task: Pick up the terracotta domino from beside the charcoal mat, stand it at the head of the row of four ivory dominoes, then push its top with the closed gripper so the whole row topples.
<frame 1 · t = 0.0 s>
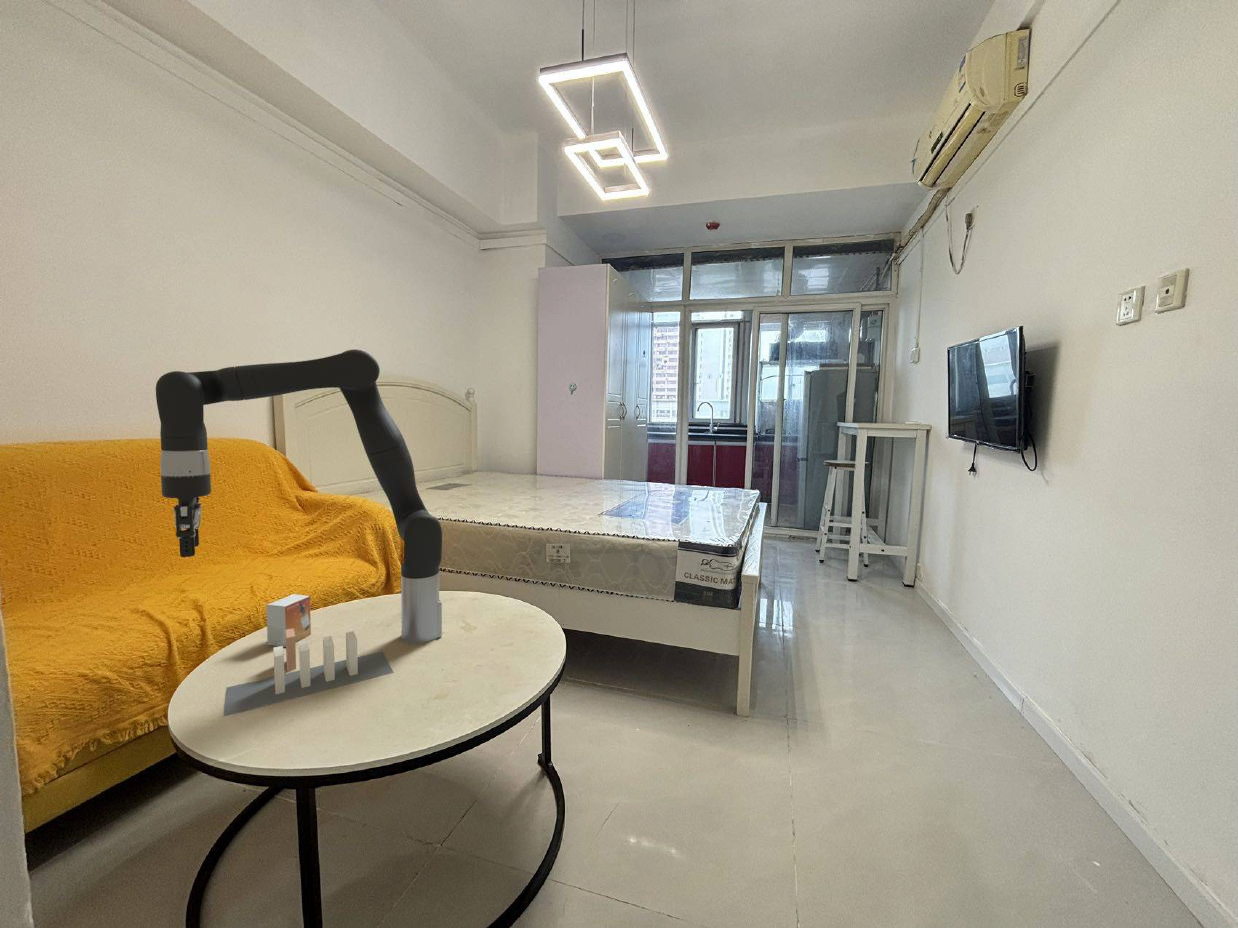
hand: (190, 551, 101), 29 cm above the table, tool pointing down, fingers open, 8 cm apart
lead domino: (291, 666, 113), on the table
domino 4: (329, 675, 109), resting on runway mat
domino 3: (305, 681, 107), resting on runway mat
domino 2: (279, 687, 104), resting on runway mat
small box: (290, 640, 127), on the table
domino 5: (352, 670, 112), resting on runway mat
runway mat: (313, 681, 107), on the table
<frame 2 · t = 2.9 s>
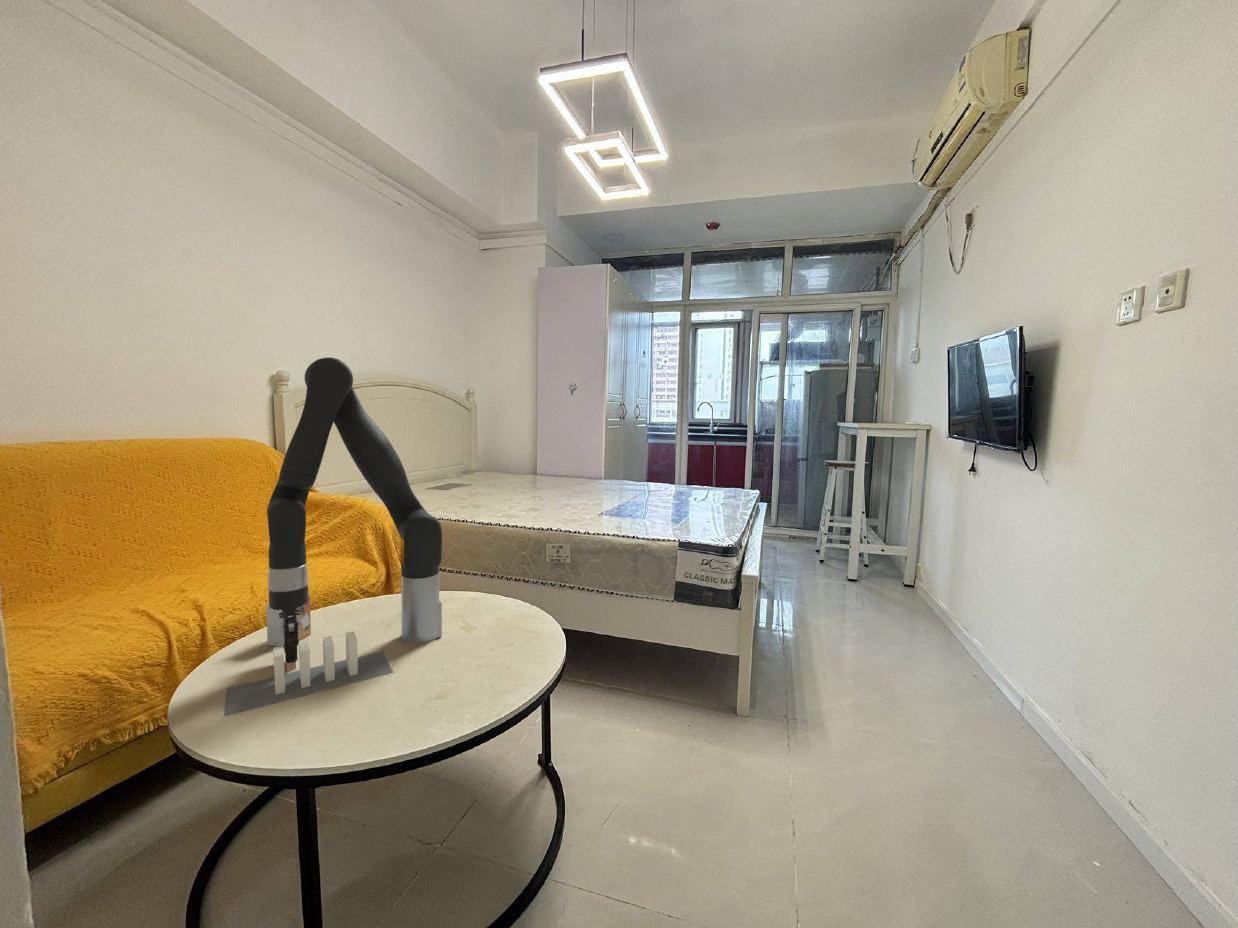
hand: (290, 656, 113), 2 cm above the table, tool pointing down, fingers closed on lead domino, 5 cm apart
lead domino: (291, 666, 113), on the table, touching gripper
everything else where it was.
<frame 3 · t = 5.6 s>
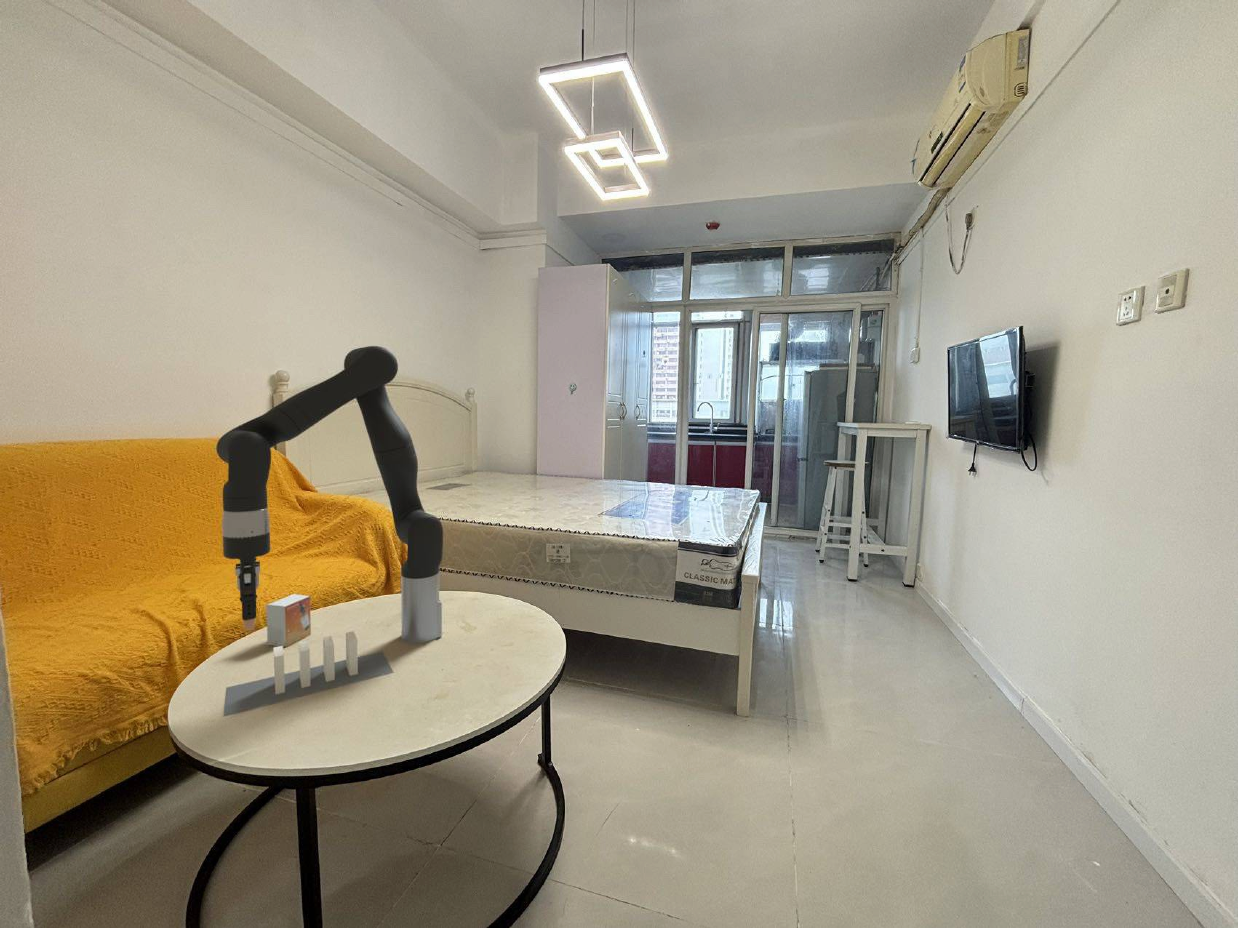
hand: (249, 613, 100), 17 cm above the table, tool pointing down, fingers closed on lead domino, 5 cm apart
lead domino: (249, 625, 100), point 15 cm above the table, touching gripper
everything else where it was.
when the fingers open (4 cm above the table, at t = 8.6 s): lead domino stays where it is, resting on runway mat.
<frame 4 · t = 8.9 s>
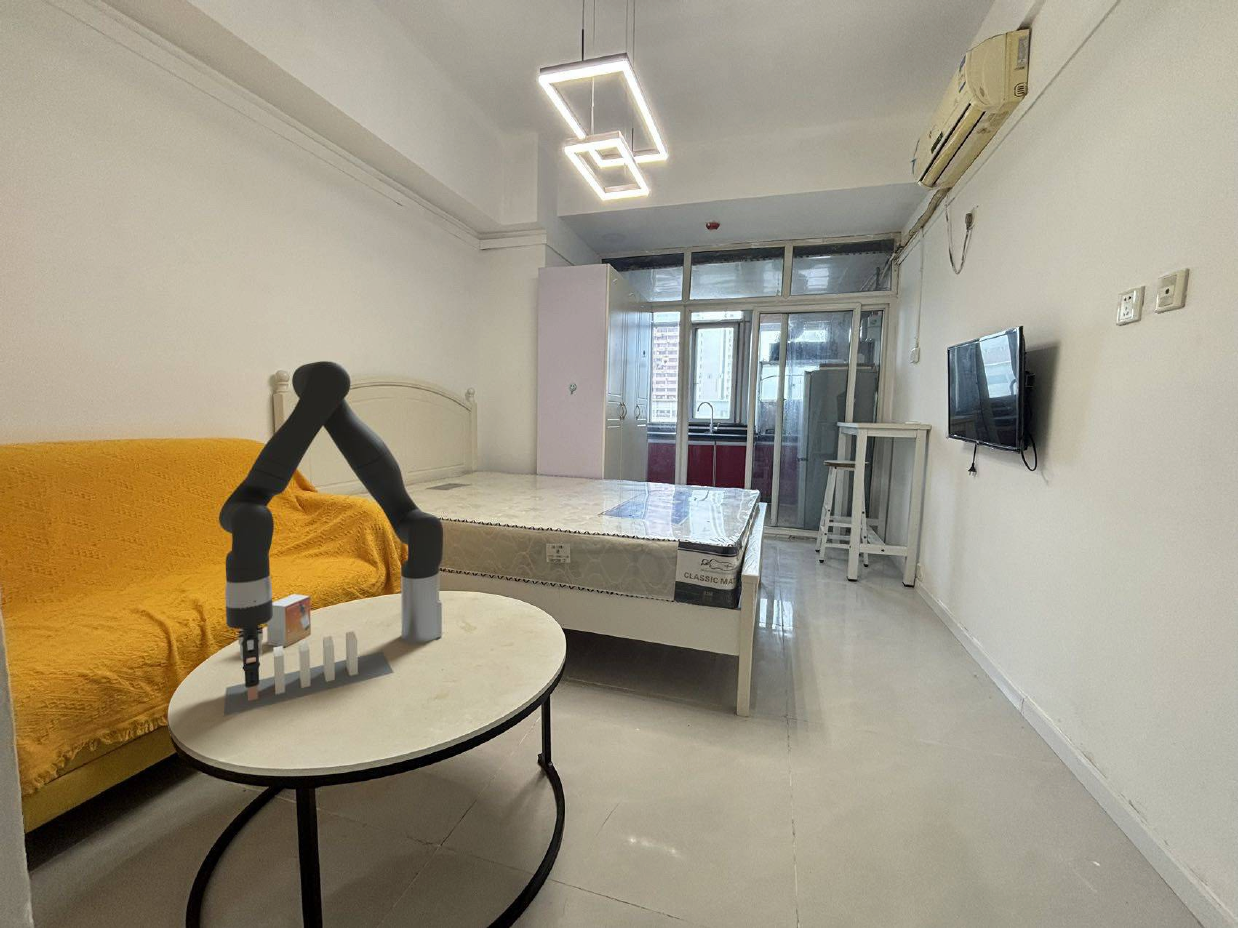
hand: (252, 676, 101), 4 cm above the table, tool pointing down, fingers open, 7 cm apart
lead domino: (252, 694, 101), resting on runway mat
everything else where it was.
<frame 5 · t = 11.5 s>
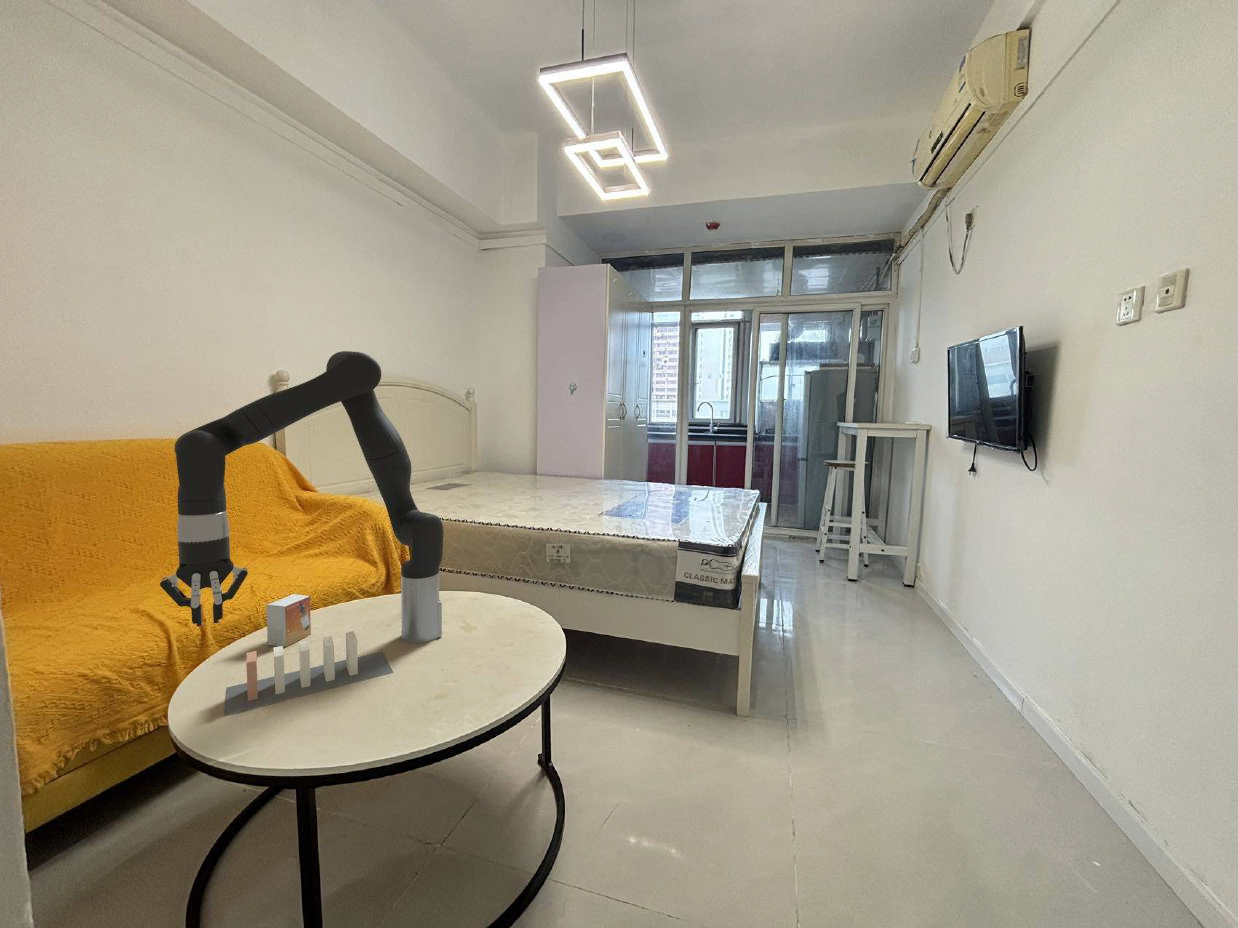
hand: (208, 622, 96), 17 cm above the table, tool pointing down, fingers closed
nothing on the table moved.
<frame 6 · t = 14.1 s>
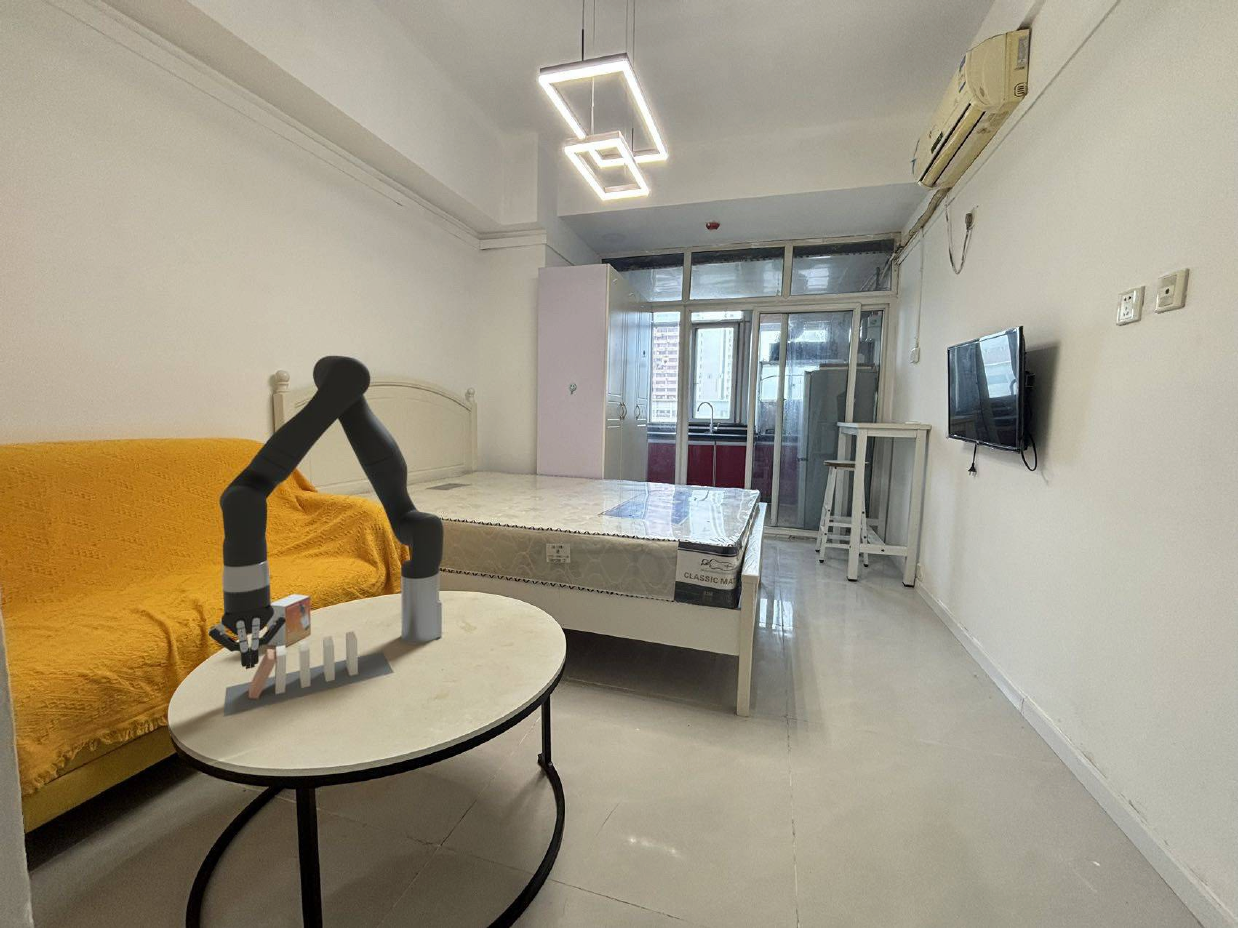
hand: (250, 666, 101), 6 cm above the table, tool pointing down, fingers closed
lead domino: (253, 692, 101), point 1 cm above the table, tilted 25°, touching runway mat
everything else where it was.
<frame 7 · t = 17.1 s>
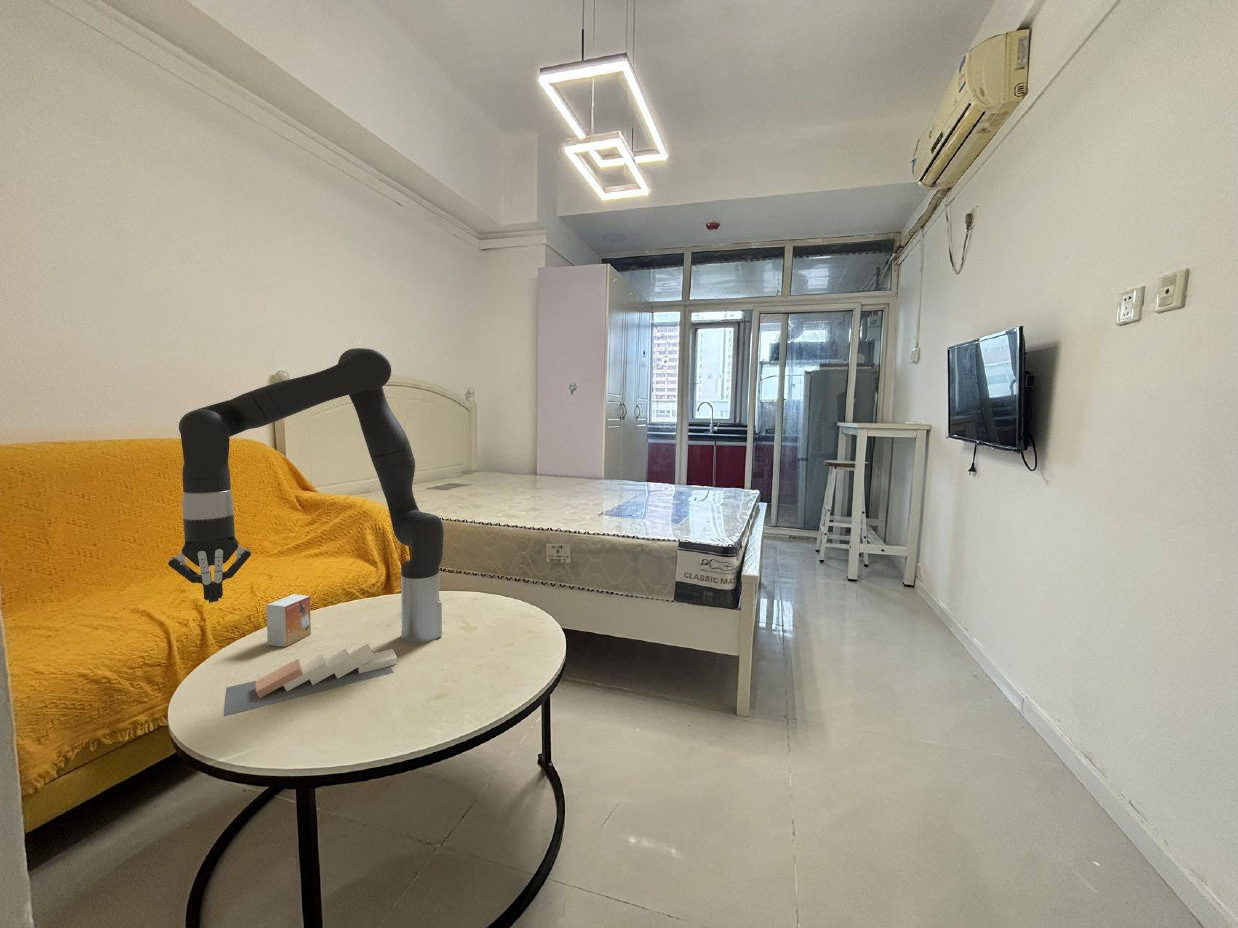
hand: (214, 600, 97), 21 cm above the table, tool pointing down, fingers closed
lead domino: (257, 689, 102), point 1 cm above the table, tilted 70°, touching domino 2, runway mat
domino 4: (334, 671, 110), point 1 cm above the table, tilted 69°, touching domino 3, domino 5, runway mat
domino 3: (309, 677, 107), point 1 cm above the table, tilted 69°, touching domino 2, domino 4, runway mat
domino 2: (284, 683, 104), point 1 cm above the table, tilted 69°, touching domino 3, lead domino, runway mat
domino 5: (356, 665, 112), point 1 cm above the table, tilted 90°, touching domino 4, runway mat
everything else where it was.
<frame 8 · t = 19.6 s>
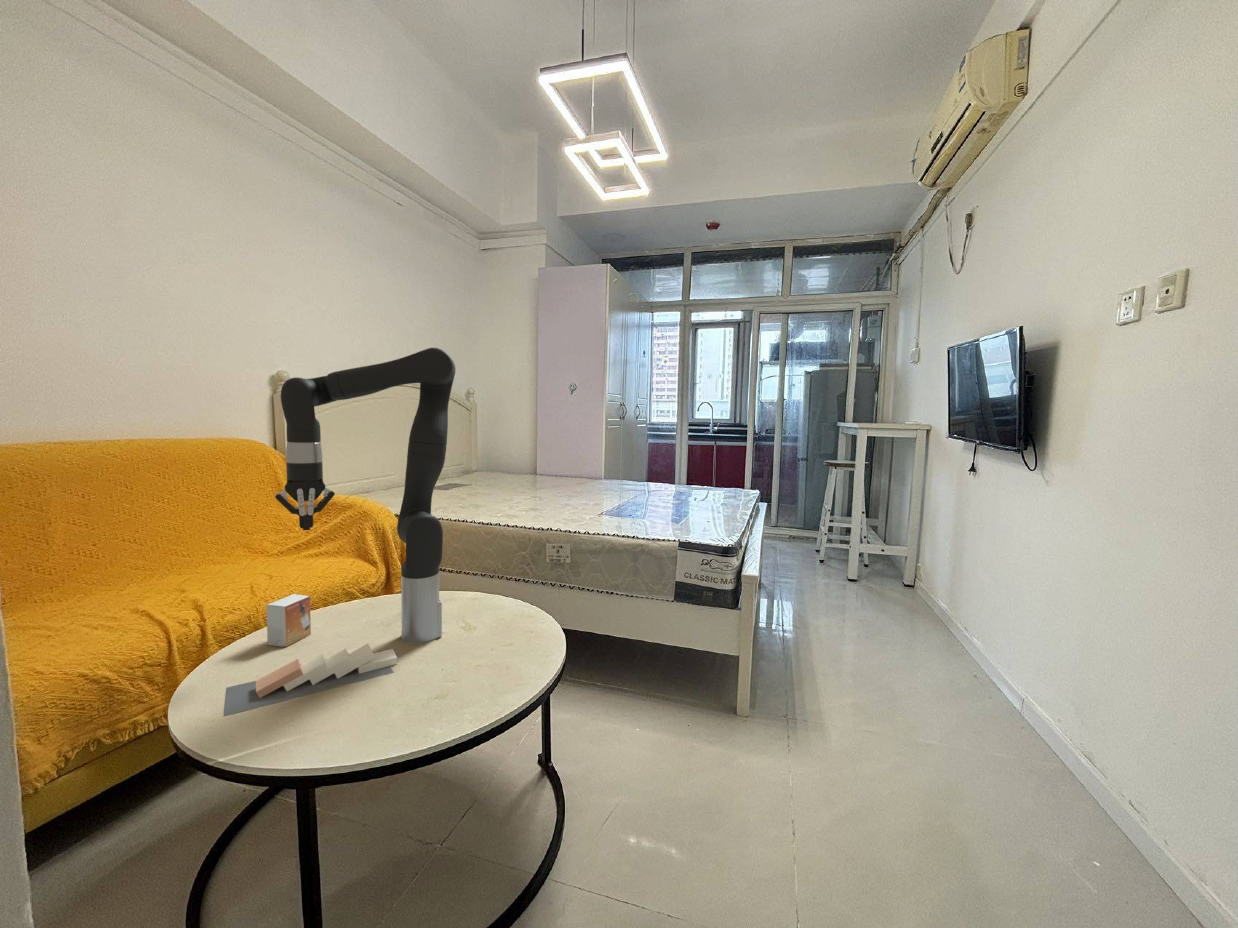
hand: (306, 529, 123), 29 cm above the table, tool pointing down, fingers closed
nothing on the table moved.
at the end: domino 5 tilted 90°; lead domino tilted 70°; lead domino inside the target area (0.3 cm from its centre), point 1.1 cm above the table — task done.
